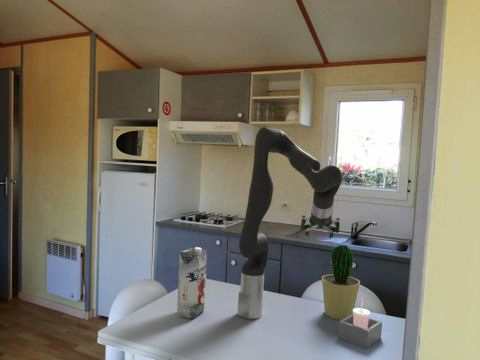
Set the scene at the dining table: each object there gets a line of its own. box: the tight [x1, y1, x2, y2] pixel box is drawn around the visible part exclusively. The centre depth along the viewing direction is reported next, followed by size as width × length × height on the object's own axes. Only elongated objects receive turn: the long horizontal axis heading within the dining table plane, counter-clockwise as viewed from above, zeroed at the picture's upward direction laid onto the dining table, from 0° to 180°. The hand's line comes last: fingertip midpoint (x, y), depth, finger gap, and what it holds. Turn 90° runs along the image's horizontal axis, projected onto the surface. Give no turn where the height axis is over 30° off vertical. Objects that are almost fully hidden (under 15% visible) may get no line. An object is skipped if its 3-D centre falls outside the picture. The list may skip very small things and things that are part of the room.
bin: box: [337, 314, 383, 349], centre depth 144 cm, size 12×11×6 cm
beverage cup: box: [353, 296, 371, 329], centre depth 143 cm, size 6×6×14 cm
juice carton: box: [176, 246, 208, 320], centre depth 156 cm, size 9×10×27 cm
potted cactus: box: [321, 244, 361, 321], centre depth 164 cm, size 15×15×30 cm
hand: (318, 235), depth 154 cm, fingers open, 8 cm apart
